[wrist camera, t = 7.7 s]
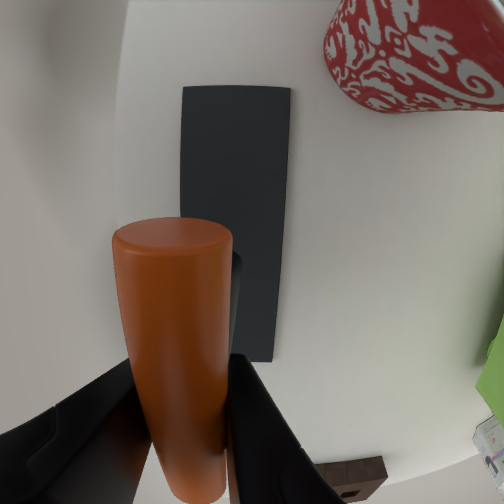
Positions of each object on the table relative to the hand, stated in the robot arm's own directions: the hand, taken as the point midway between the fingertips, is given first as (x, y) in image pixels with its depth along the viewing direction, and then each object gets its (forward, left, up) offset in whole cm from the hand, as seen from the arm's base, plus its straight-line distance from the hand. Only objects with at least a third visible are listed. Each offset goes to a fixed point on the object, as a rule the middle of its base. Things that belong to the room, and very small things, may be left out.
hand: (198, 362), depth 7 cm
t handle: (0, 0, -7) cm, 7 cm away
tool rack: (+4, -32, -11) cm, 34 cm away
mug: (+12, +11, -11) cm, 19 cm away
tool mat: (0, 0, -11) cm, 11 cm away
